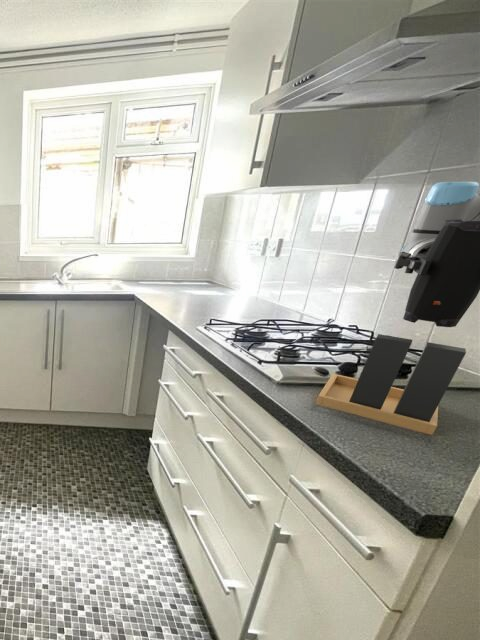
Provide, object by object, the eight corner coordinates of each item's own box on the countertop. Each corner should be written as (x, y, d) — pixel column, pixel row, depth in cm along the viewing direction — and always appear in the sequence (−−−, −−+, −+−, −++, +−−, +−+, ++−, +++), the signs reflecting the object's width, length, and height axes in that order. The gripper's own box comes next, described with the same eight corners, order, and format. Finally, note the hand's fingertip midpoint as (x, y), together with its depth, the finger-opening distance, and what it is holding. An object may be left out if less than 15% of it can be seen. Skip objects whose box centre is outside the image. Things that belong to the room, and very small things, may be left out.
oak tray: (432, 408, 91) (438, 397, 90) (430, 438, 79) (437, 426, 78) (328, 383, 103) (333, 373, 101) (314, 406, 91) (318, 395, 90)
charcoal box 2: (425, 424, 83) (465, 348, 76) (425, 429, 81) (466, 352, 74) (391, 415, 86) (427, 342, 80) (390, 420, 84) (426, 345, 78)
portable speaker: (443, 330, 80) (496, 221, 72) (387, 318, 88) (429, 219, 80) (472, 326, 82) (527, 220, 74) (415, 315, 90) (458, 218, 82)
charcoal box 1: (378, 412, 87) (412, 339, 81) (377, 417, 85) (411, 343, 79) (348, 404, 91) (378, 333, 84) (345, 408, 89) (376, 337, 82)
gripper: (495, 279, 89) (537, 298, 73) (365, 269, 101) (376, 284, 85) (514, 243, 86) (563, 254, 70) (377, 237, 98) (391, 245, 81)
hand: (460, 270), depth 77 cm, fingers closed on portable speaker, 8 cm apart
